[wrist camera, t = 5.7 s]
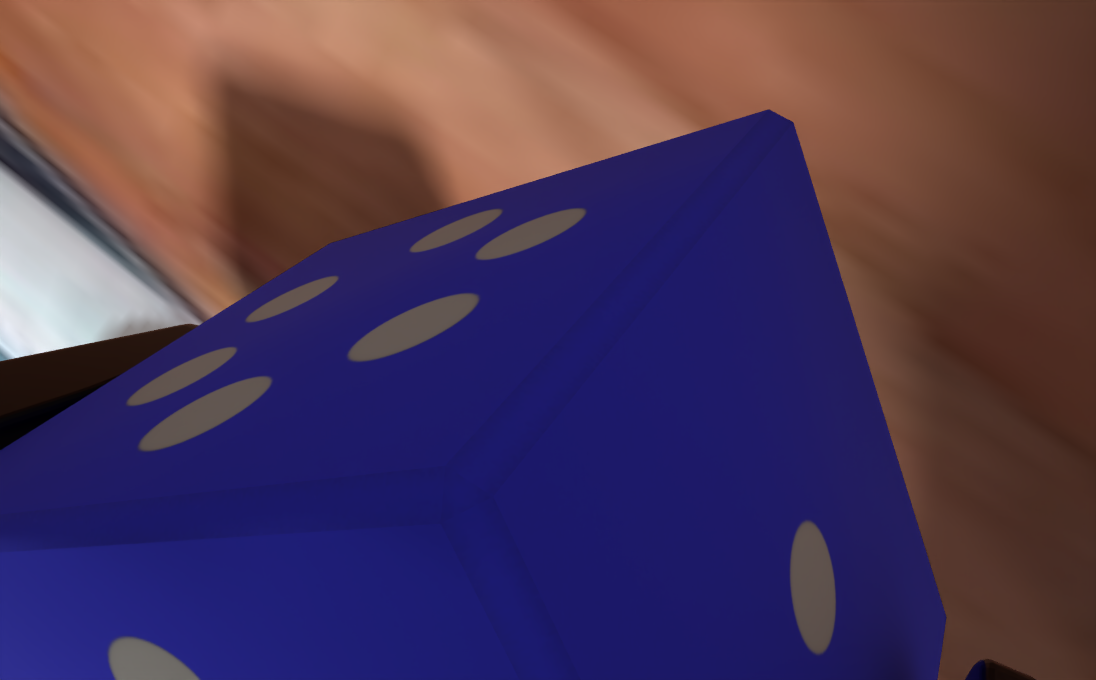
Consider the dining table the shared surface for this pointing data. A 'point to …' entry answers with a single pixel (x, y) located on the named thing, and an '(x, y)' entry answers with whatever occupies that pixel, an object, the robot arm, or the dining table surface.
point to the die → (496, 456)
